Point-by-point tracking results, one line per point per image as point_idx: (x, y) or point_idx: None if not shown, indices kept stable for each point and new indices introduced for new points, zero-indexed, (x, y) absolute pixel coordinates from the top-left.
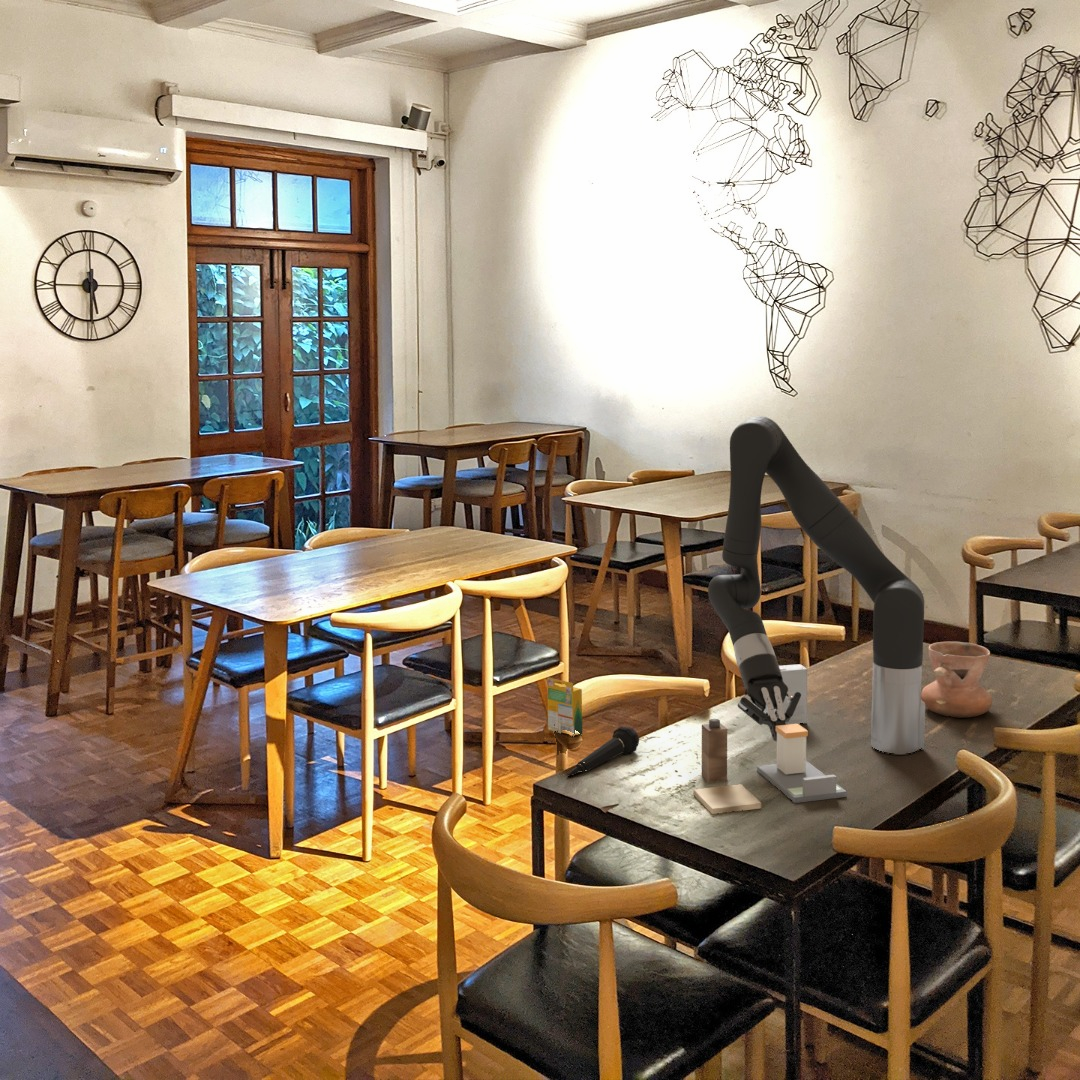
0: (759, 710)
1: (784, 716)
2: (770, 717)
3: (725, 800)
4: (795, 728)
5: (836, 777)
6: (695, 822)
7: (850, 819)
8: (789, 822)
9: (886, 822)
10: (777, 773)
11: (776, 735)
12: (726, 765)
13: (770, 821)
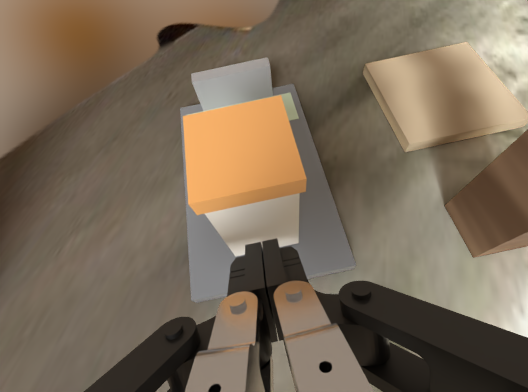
0: (406, 325)
1: (219, 312)
2: (315, 293)
3: (442, 70)
4: (222, 143)
5: (192, 75)
6: (489, 28)
7: (217, 45)
8: (318, 34)
9: (169, 40)
10: (303, 203)
11: (291, 252)
12: (470, 184)
13: (350, 36)
